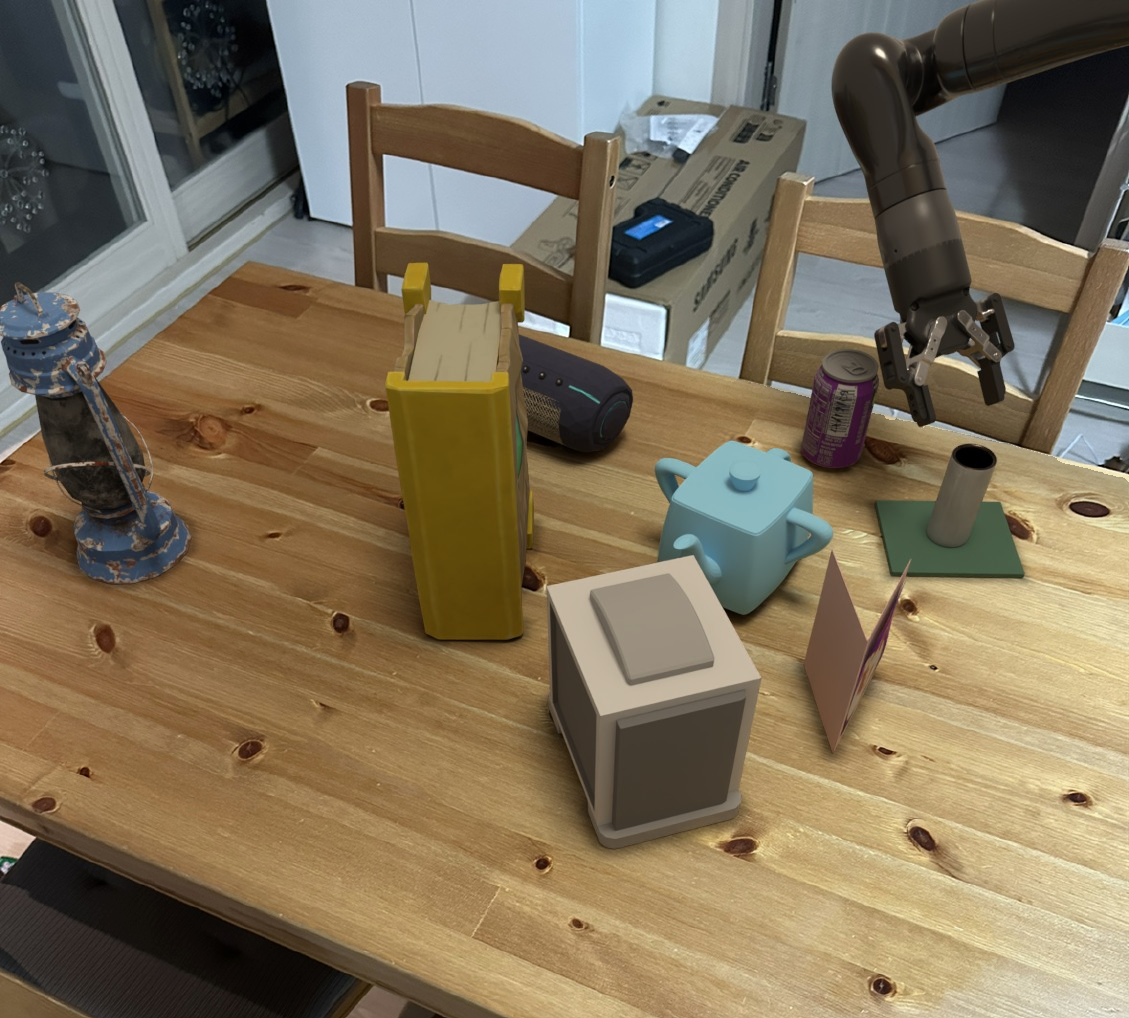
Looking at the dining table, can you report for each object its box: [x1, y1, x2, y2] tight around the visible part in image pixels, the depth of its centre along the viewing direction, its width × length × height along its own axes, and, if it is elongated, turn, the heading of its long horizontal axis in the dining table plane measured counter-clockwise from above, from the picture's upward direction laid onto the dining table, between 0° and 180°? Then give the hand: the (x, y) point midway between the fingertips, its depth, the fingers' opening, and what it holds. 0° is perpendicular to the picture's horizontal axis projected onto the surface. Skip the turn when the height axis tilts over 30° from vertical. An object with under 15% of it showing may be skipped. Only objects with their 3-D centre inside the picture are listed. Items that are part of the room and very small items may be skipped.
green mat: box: [874, 499, 1026, 579], centre depth 117 cm, size 14×12×1 cm
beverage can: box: [800, 348, 880, 469], centre depth 122 cm, size 7×7×12 cm
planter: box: [927, 442, 998, 547], centre depth 112 cm, size 4×4×10 cm
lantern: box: [0, 281, 193, 585], centre depth 106 cm, size 15×12×30 cm
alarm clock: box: [546, 555, 762, 850], centre depth 92 cm, size 18×13×18 cm
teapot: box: [654, 440, 834, 616], centre depth 108 cm, size 18×16×14 cm
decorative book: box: [384, 262, 535, 641], centre depth 102 cm, size 20×11×30 cm, turn 177°
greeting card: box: [803, 548, 911, 754], centre depth 97 cm, size 11×7×15 cm, turn 151°
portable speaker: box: [519, 333, 634, 453], centre depth 127 cm, size 25×10×10 cm, turn 55°
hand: (962, 414), depth 108 cm, fingers open, 8 cm apart
